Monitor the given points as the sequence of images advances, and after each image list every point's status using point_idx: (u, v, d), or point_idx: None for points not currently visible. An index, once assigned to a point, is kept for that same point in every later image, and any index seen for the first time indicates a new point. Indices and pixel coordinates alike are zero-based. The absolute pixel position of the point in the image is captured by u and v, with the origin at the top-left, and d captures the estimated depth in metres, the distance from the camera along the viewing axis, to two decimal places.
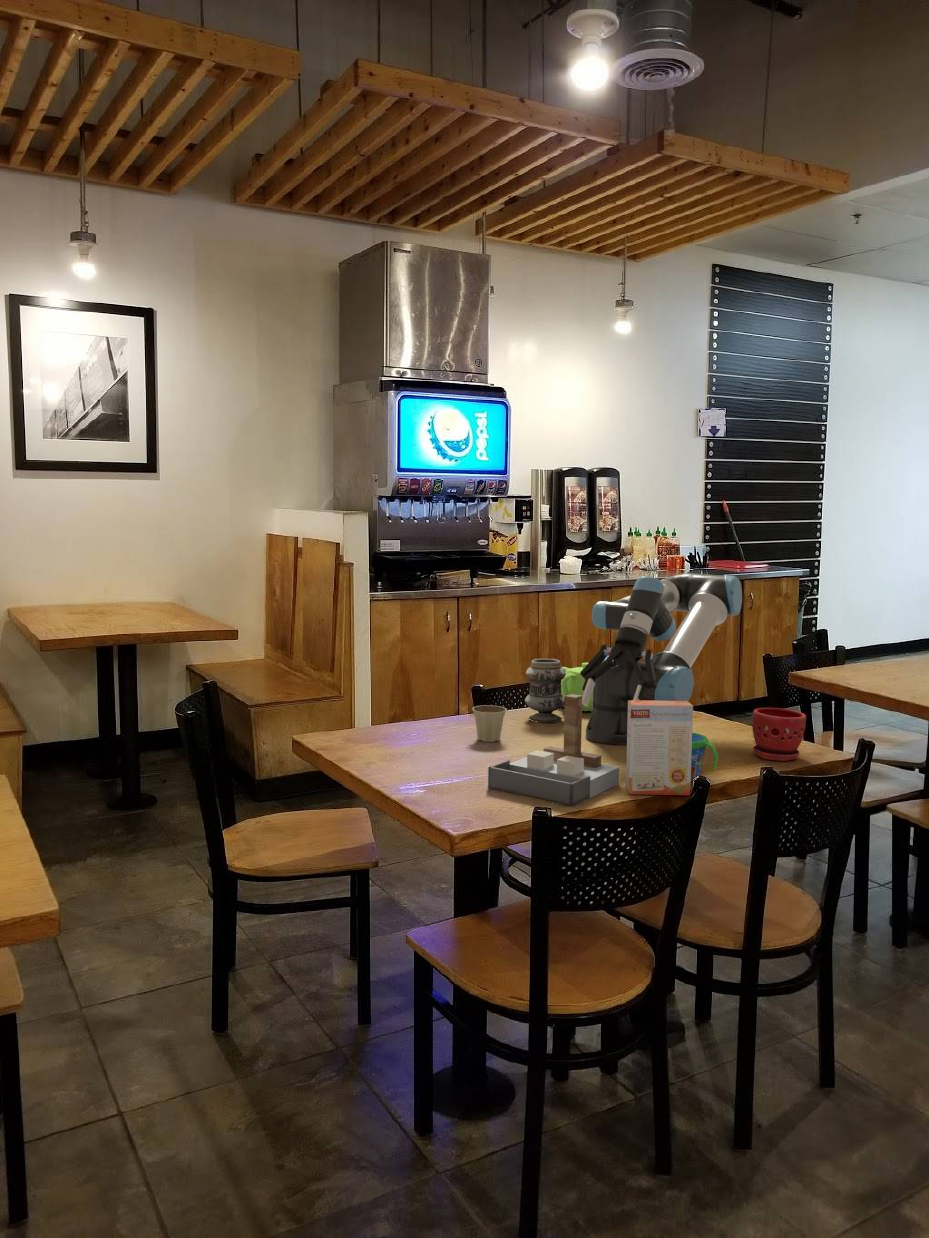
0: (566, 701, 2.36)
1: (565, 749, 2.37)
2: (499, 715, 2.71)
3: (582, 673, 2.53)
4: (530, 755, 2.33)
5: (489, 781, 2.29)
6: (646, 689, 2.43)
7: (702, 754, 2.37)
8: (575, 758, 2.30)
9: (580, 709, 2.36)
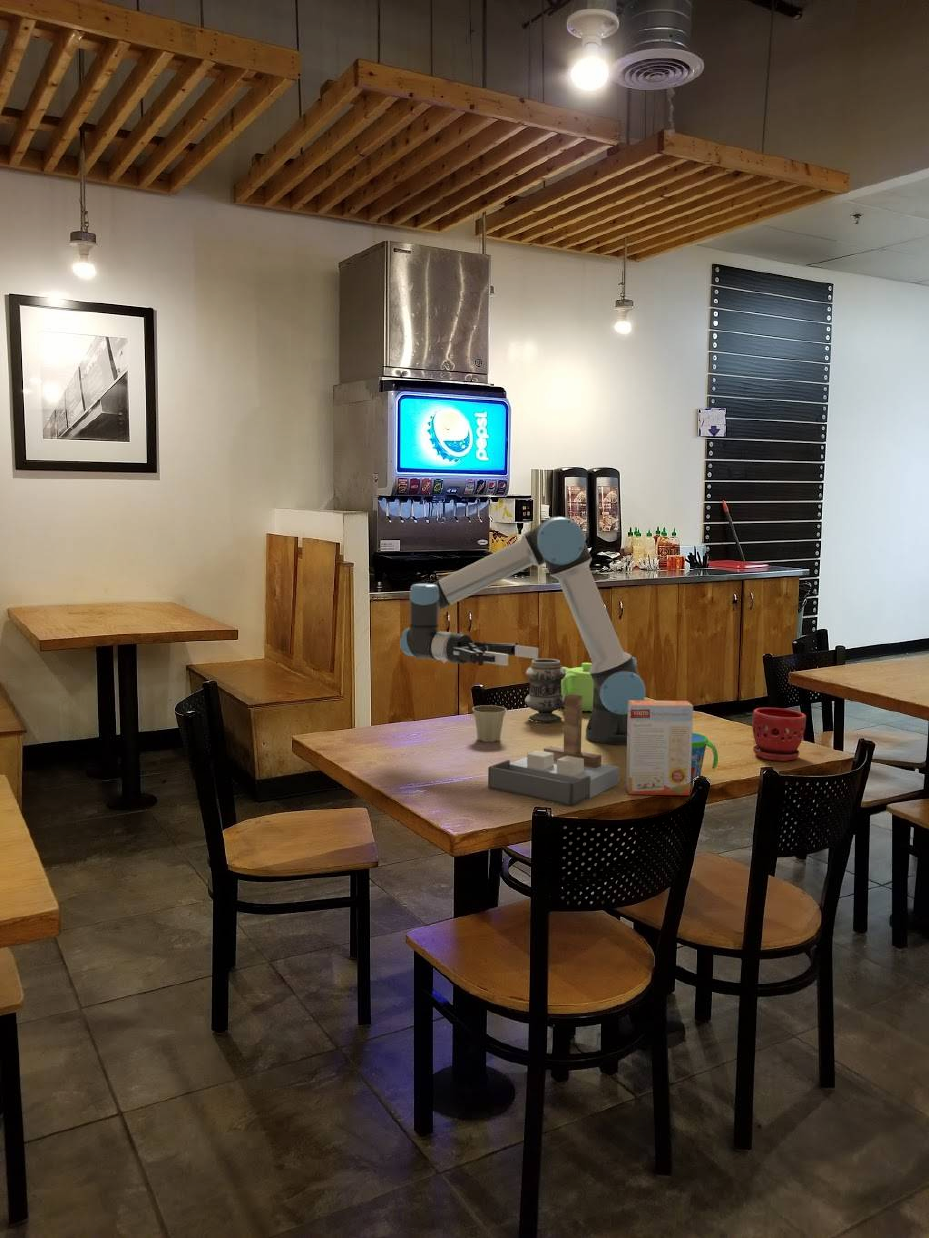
0: (566, 701, 2.36)
1: (565, 749, 2.37)
2: (499, 715, 2.71)
3: None
4: (530, 755, 2.33)
5: (489, 781, 2.29)
6: (482, 658, 2.43)
7: (702, 754, 2.37)
8: (575, 758, 2.30)
9: (580, 709, 2.36)
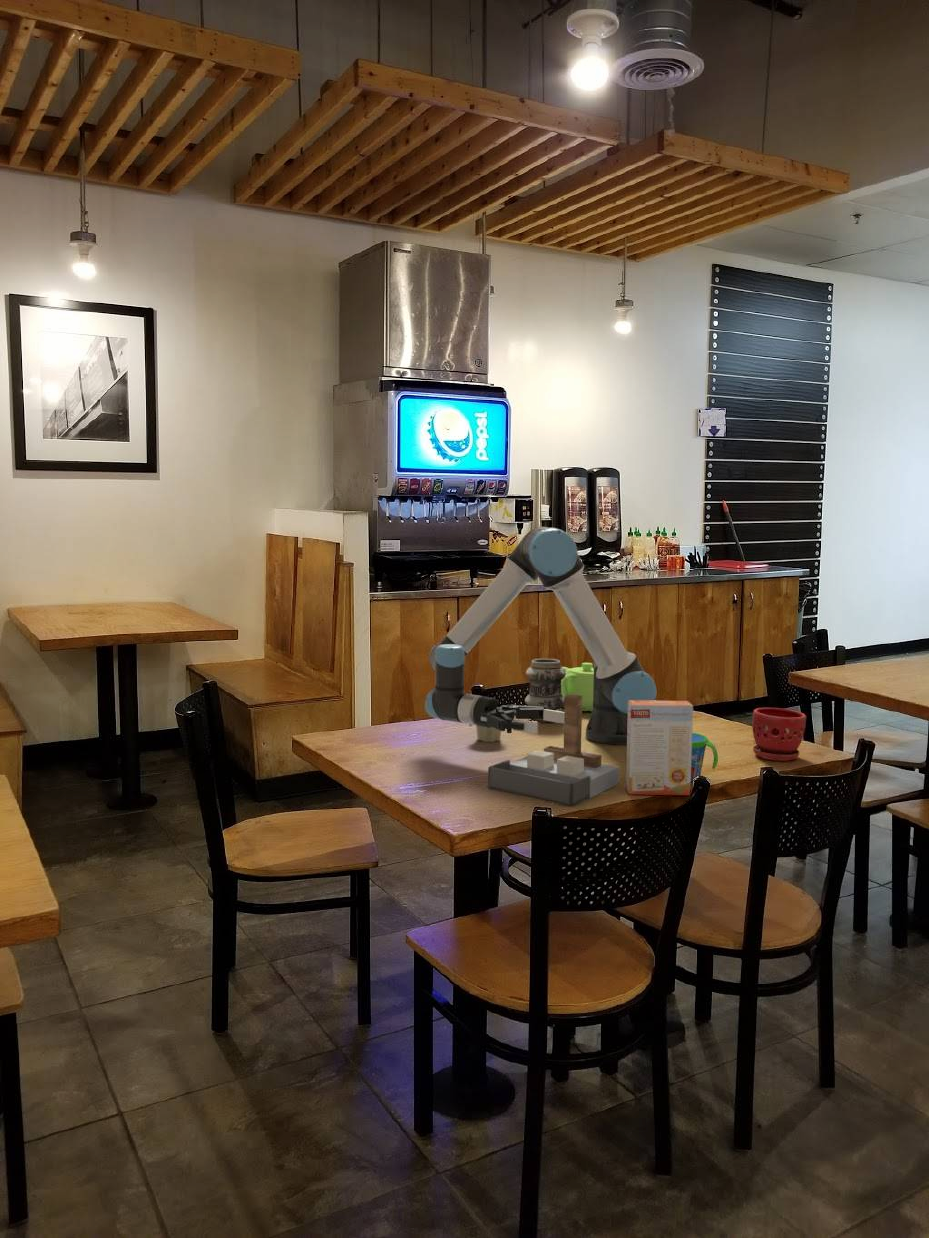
0: (566, 701, 2.36)
1: (565, 749, 2.37)
2: None
3: None
4: (530, 755, 2.33)
5: (489, 781, 2.29)
6: (511, 726, 2.37)
7: (702, 754, 2.37)
8: (575, 758, 2.30)
9: (580, 709, 2.36)
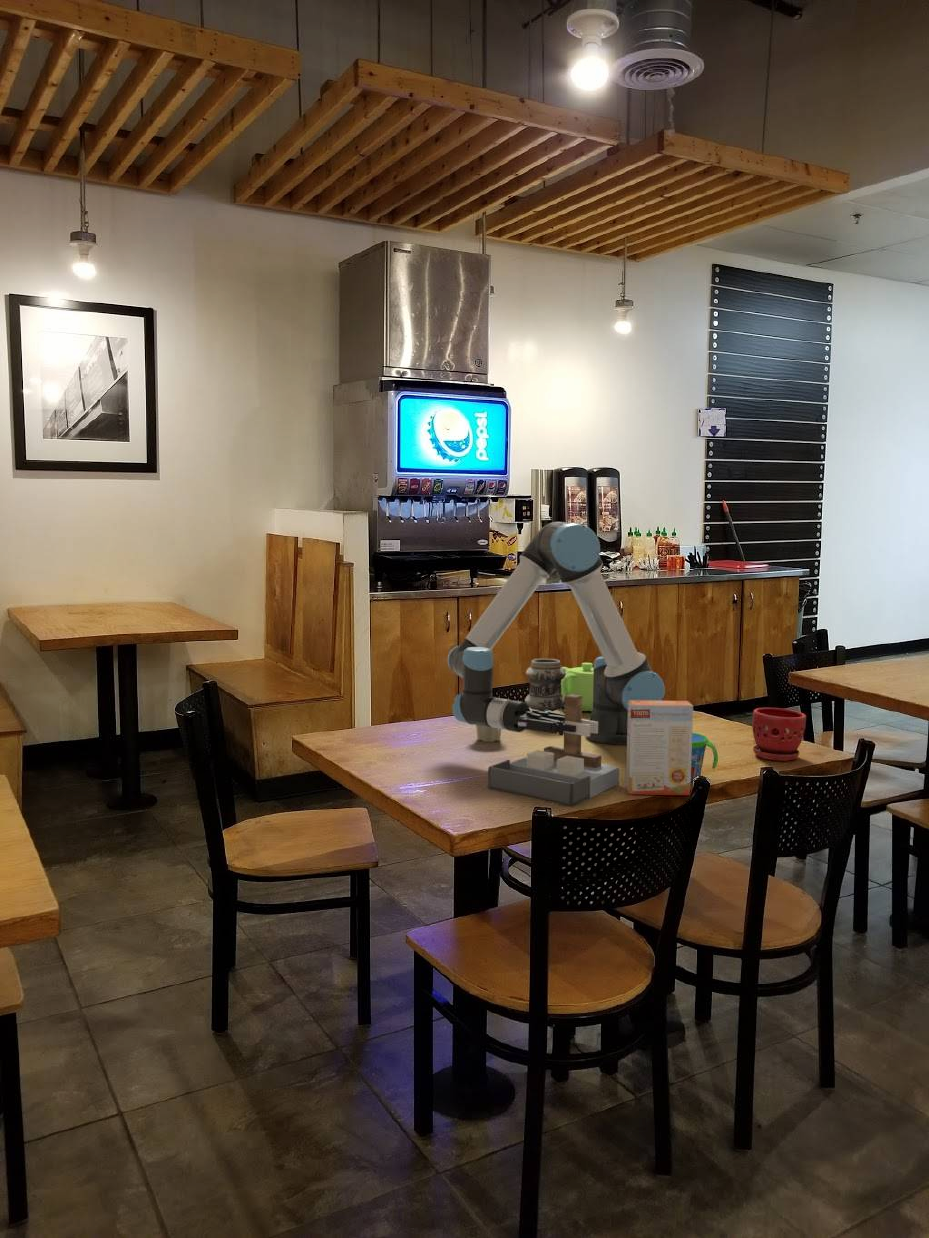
0: (566, 701, 2.36)
1: (565, 749, 2.37)
2: None
3: None
4: (530, 755, 2.33)
5: (489, 781, 2.29)
6: (563, 728, 2.35)
7: (702, 754, 2.37)
8: (575, 758, 2.30)
9: (580, 709, 2.36)
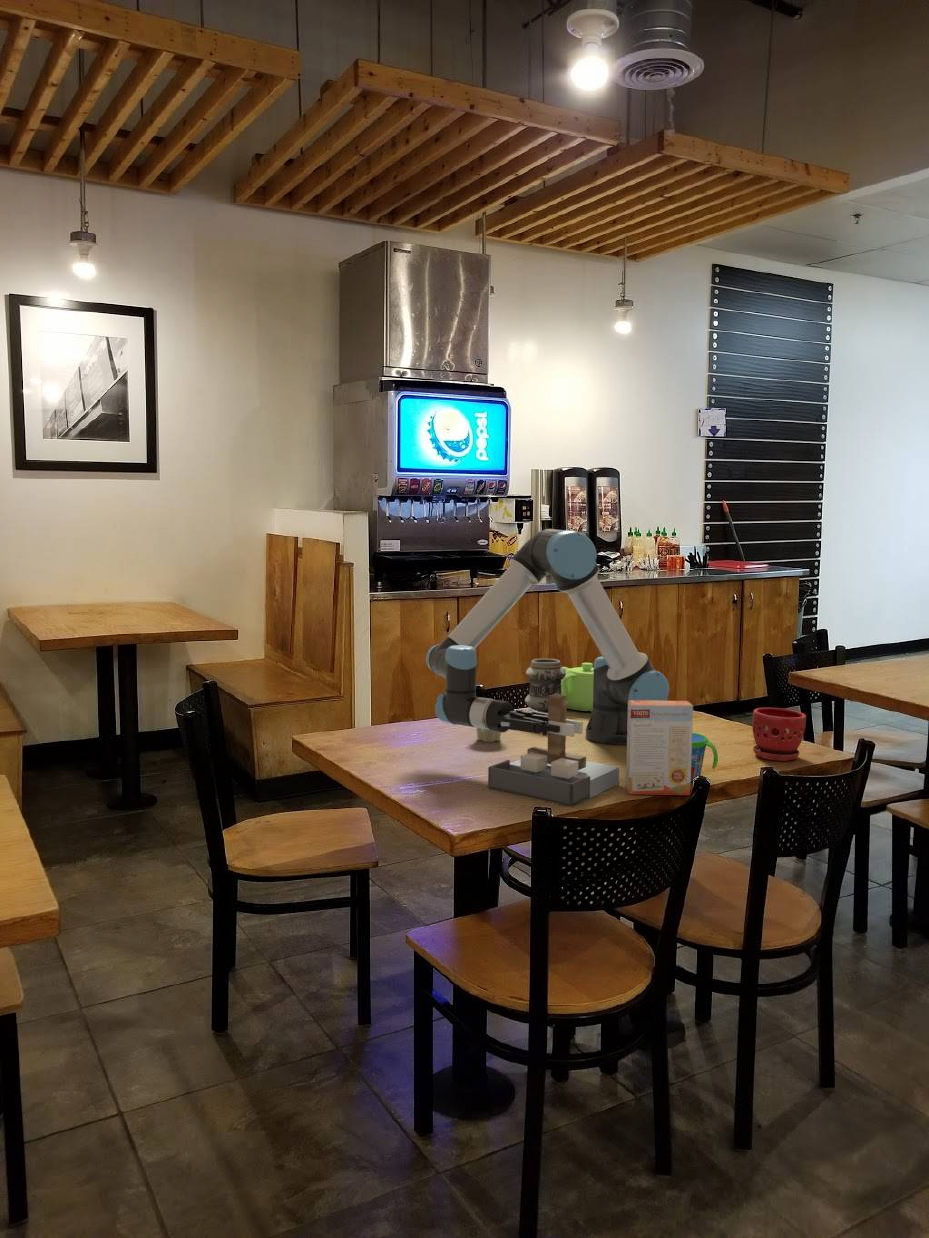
0: (550, 701, 2.30)
1: (549, 750, 2.32)
2: None
3: None
4: (523, 757, 2.31)
5: (489, 781, 2.29)
6: (547, 728, 2.29)
7: (702, 754, 2.37)
8: (570, 760, 2.28)
9: (564, 709, 2.31)
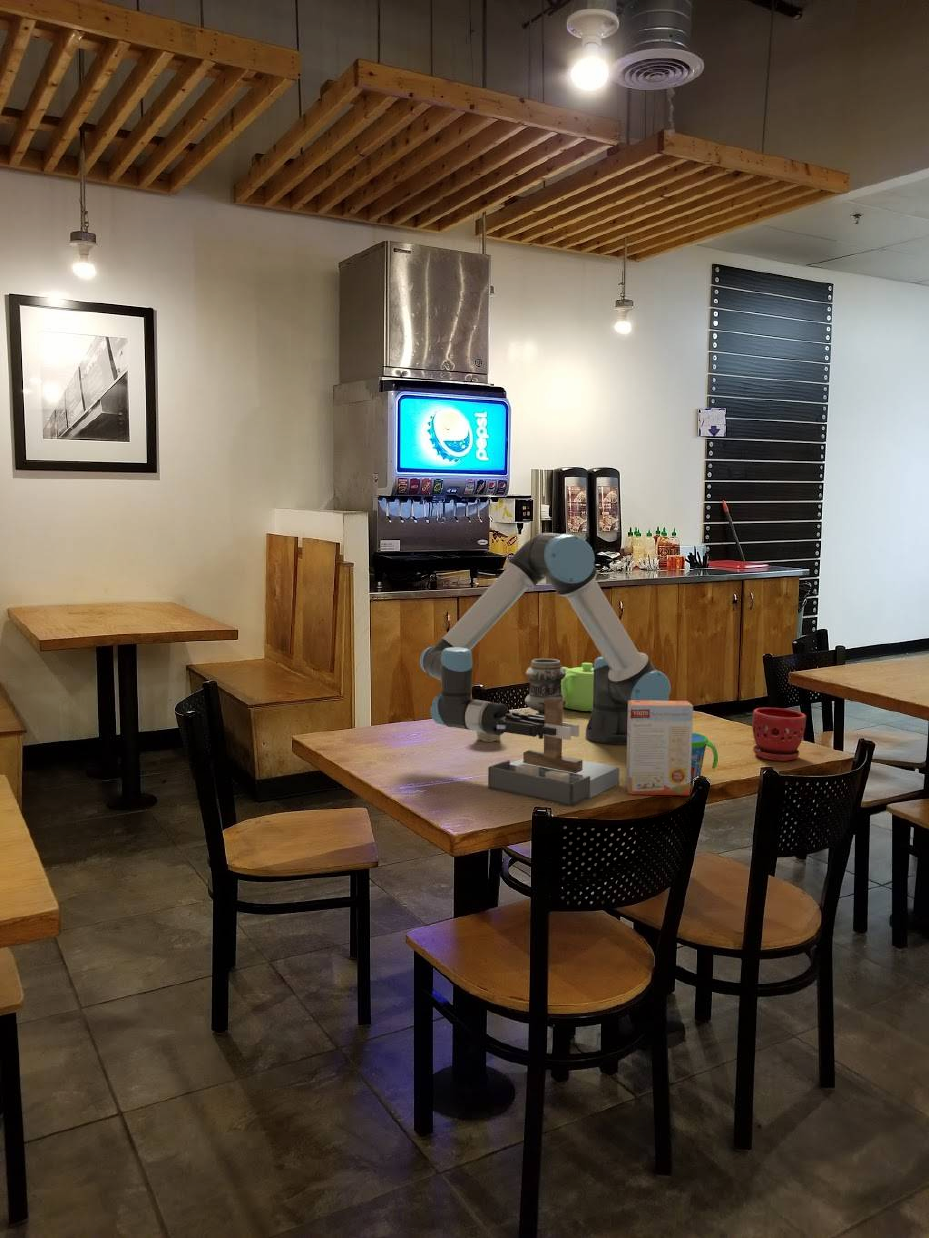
0: (546, 704, 2.28)
1: (545, 753, 2.30)
2: None
3: None
4: None
5: (489, 781, 2.29)
6: (543, 731, 2.27)
7: (702, 754, 2.37)
8: (556, 779, 2.23)
9: (561, 712, 2.29)
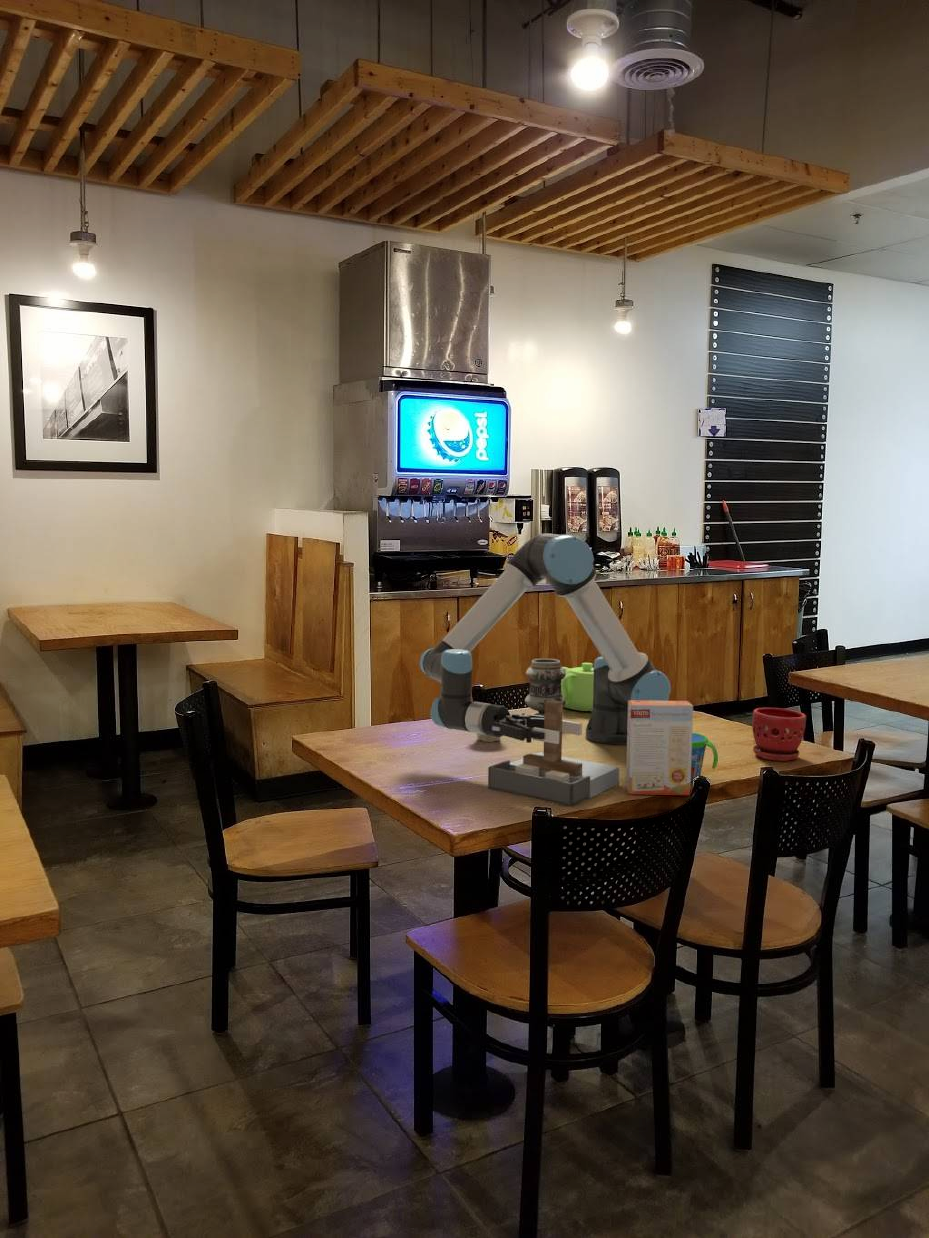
0: (546, 707, 2.29)
1: (545, 757, 2.30)
2: None
3: None
4: None
5: (489, 781, 2.29)
6: (531, 735, 2.25)
7: (702, 754, 2.37)
8: (556, 779, 2.23)
9: (560, 716, 2.29)
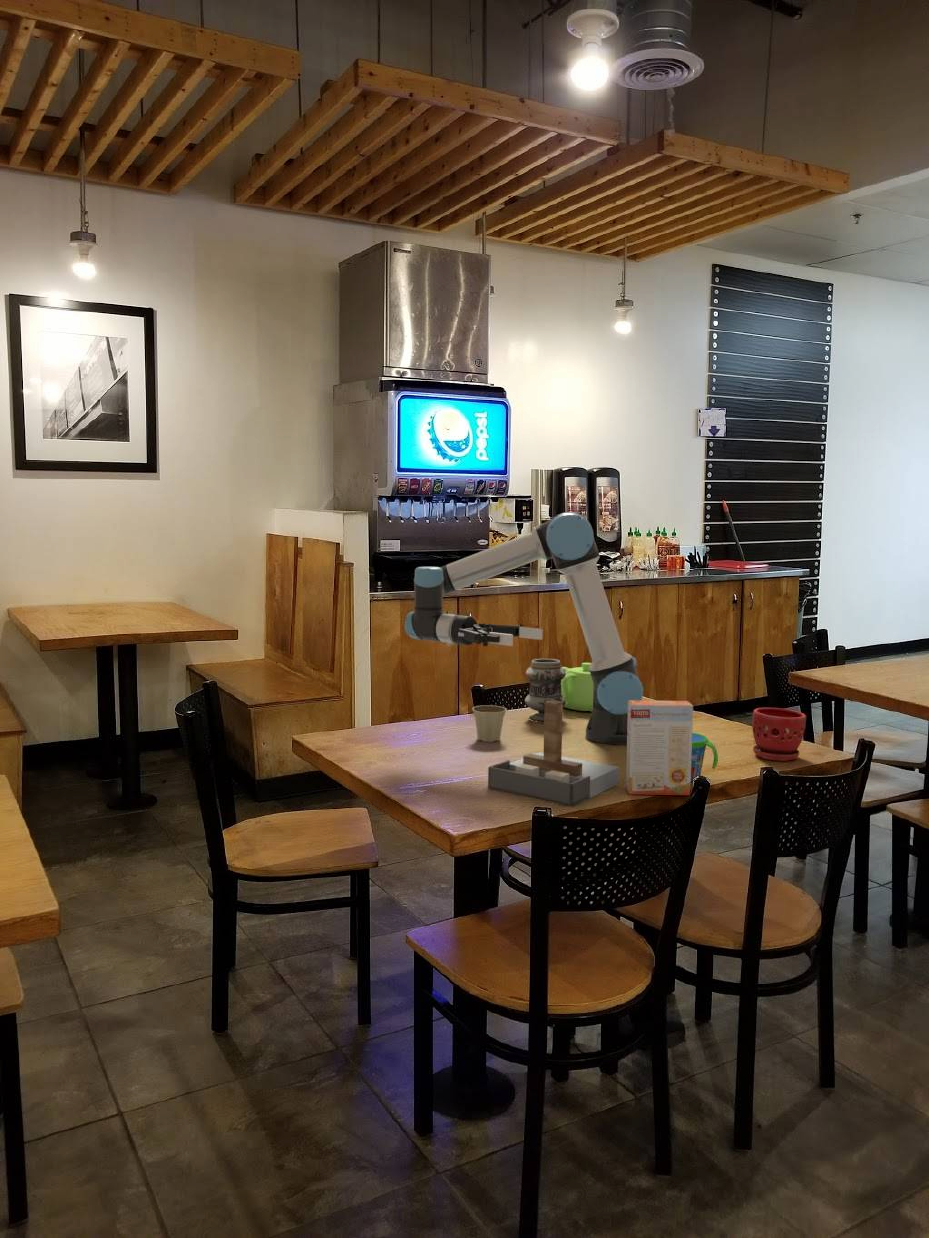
0: (546, 707, 2.29)
1: (545, 757, 2.30)
2: (499, 715, 2.71)
3: None
4: None
5: (489, 781, 2.29)
6: (487, 639, 2.44)
7: (702, 754, 2.37)
8: (556, 779, 2.23)
9: (560, 716, 2.29)
